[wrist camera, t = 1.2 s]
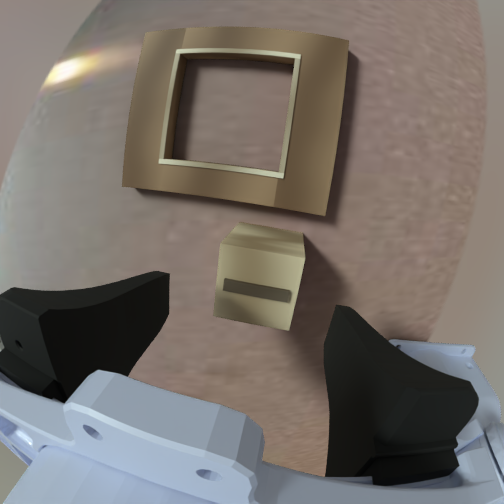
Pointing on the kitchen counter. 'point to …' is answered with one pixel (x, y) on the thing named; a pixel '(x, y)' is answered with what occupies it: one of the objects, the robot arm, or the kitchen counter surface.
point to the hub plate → (297, 124)
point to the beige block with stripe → (259, 275)
